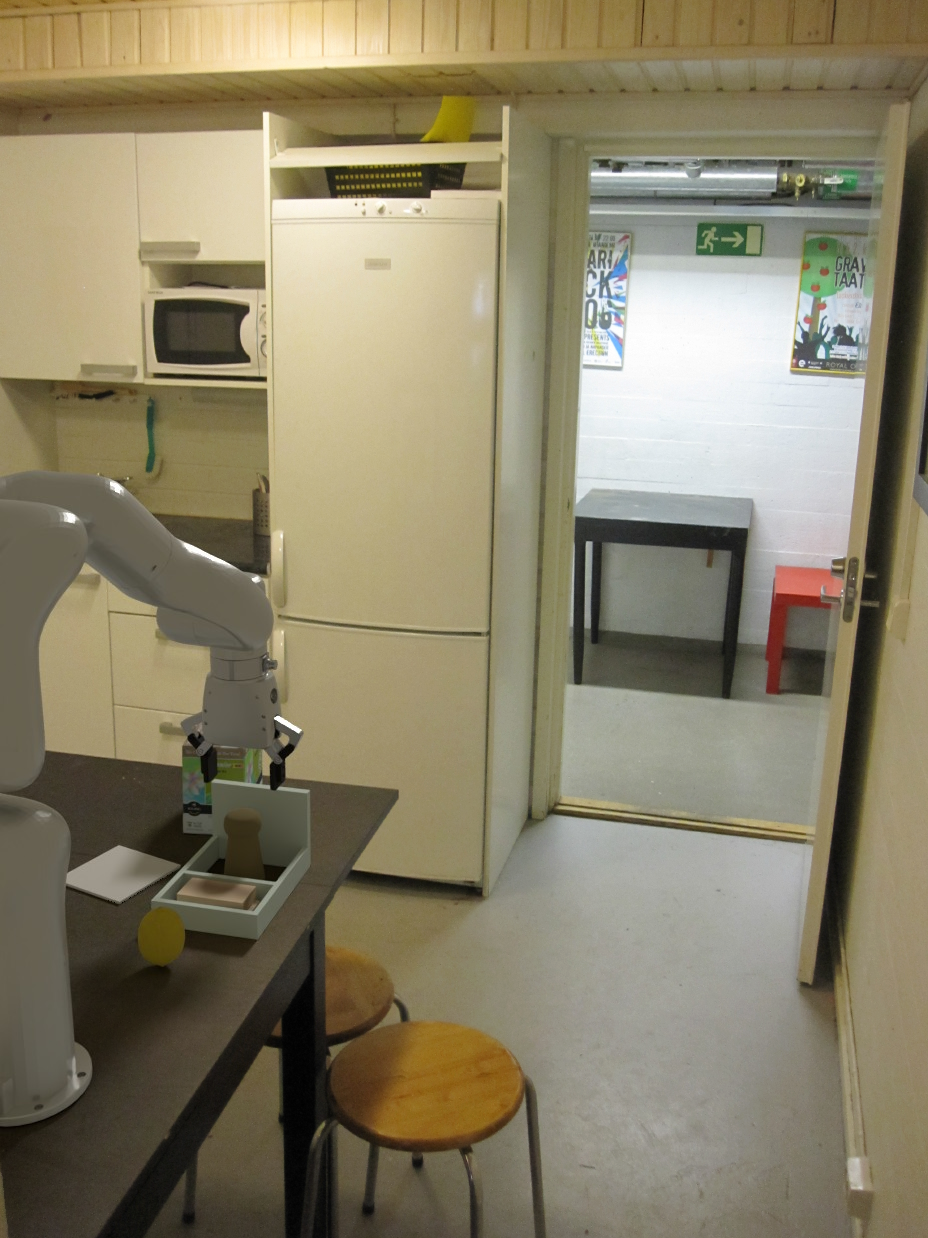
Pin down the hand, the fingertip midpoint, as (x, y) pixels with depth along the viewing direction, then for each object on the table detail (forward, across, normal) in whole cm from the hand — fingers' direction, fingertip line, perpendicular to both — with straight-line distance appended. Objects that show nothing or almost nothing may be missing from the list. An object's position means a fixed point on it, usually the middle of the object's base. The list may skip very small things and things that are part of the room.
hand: (243, 782), depth 148 cm
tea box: (+16, +12, -19) cm, 27 cm away
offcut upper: (+13, 0, +9) cm, 16 cm away
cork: (+15, 0, +1) cm, 15 cm away
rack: (+15, 0, +4) cm, 15 cm away
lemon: (+15, +2, +22) cm, 27 cm away
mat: (+15, +18, +3) cm, 24 cm away
